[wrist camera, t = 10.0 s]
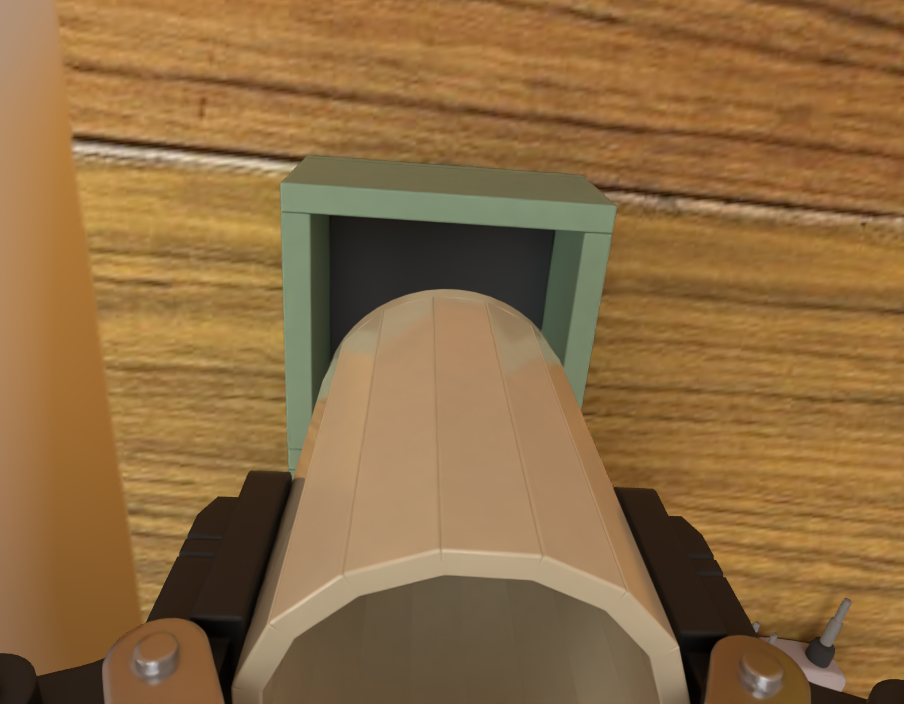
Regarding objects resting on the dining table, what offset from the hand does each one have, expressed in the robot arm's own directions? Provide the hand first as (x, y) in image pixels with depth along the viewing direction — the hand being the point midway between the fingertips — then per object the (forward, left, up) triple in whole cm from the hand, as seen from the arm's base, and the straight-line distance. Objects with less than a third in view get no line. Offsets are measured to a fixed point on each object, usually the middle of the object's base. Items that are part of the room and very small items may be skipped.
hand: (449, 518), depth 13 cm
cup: (0, 0, -5) cm, 5 cm away
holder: (+2, -4, -12) cm, 13 cm away
